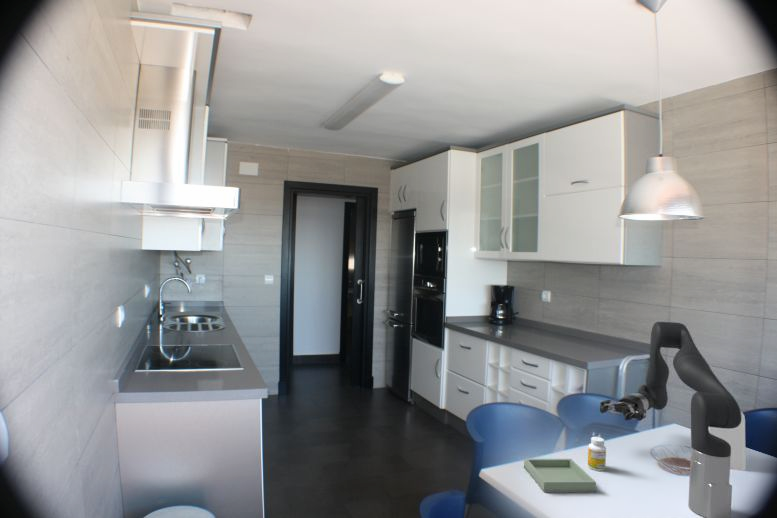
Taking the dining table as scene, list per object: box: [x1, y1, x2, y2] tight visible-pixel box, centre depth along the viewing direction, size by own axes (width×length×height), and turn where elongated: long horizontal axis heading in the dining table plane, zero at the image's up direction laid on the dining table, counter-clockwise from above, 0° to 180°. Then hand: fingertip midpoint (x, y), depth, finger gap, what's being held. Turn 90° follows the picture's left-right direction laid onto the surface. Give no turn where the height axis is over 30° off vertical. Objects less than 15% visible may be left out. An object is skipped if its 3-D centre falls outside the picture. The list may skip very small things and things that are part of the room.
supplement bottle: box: [587, 436, 607, 472], centre depth 159 cm, size 5×5×10 cm
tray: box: [523, 458, 597, 493], centre depth 150 cm, size 16×16×3 cm
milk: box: [709, 411, 747, 472], centre depth 168 cm, size 12×12×26 cm
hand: (613, 413), depth 166 cm, fingers open, 8 cm apart
